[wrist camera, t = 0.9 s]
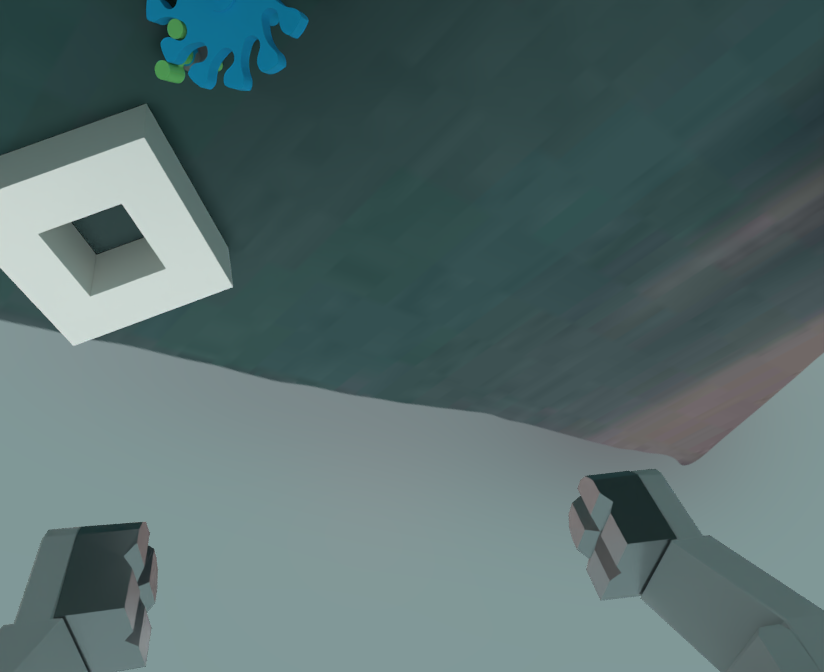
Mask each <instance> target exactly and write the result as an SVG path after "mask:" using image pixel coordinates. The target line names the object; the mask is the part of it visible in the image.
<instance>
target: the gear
mask: <svg viewBox="0 0 824 672" xmlns="http://www.w3.org/2000/svg"><path fill="white" fill-rule="evenodd" d="M146 15H147V19H148V20H149V21H152V22H154V23H157V24H160V25H166V24H168V26H167V31H168V34H169V36H170V37H166V38H164V39H163V40H162V41H161V49H162V52H163V54H164V57H165V59H166V61H164V60H160V61H158V62H157V63H156V65H155V73H156V76H157V77H158V78H159V79H161V80H165V81H169V82H173V83H181V82H182V81H183V80H184V78H185V71H184V70H187V71H189V72H188V75H189V77H190V78H191V79H192V80H193V81H194V82H195V83H196V84H197V85H199V86H200V87H202V88H206V89H210V90H211V89H212V88H213V87H214V86H215V85H216V82H217V74H218V71H220V70H221V69H222V68H223V63H222V61H223V60H224V59H225V58H226V57H227V55H228V54H229V53H230V52H232V51H233V53H234V62H233V64H232V66H231V67H230V68H229V69H228V70H227V71H226V72H225V75H224V85H225V86H227V87H229V88H233V89H237V90H240V91H250V90H251V88H252V83H253V82H252V77H251V74H250V69H249V57H250V53H251V49H252V46H253V43H254V42H255V41H256V40H258V39H259V41H260V51H259V54H258V58H257V64H258V67H259V69H260V70H261V71H262V72H264V73H267V74H274V73H277V72H279V71H281V70H282V69H283V68H285V67H286V59H285V56H284V55H283V54H282V53H281V52H280V51H279V50H278V48H277V47H276V45H275V44H274V41H273V39H272V35H271V30H270V26H275V25H277V24H278V22H279V23H280V27H281V30H282V31H283V32H284V33H285V34H287V35H289V36H291V37H293V38H296V39H298V38H299V37H300V36H301V34H302V33H303V32H304V30H305V28H306V26H307V24H308V22H309V20H308V18H307V16H306V15H305V14H304V13H302V12H300V11H298V10H296V9H294V8H289V7H286V6H285V5H284V4H283V3H282V2H281V0H177V3H176V5H175V7H174V8H172V7H171V5H170V4H169V3H168V2H167V1H165V0H147V4H146ZM171 37H172V38H171Z"/></svg>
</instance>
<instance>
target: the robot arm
mask: <svg viewBox="0 0 824 672" xmlns="http://www.w3.org/2000/svg"><path fill="white" fill-rule="evenodd" d="M577 489H578V491H579V493H580V495H581V496H580V497H578V498H577V499H576V500H575V501H574V502H573V503H572V505H571V508H570V512H569V529H570V533H571V536H572V539H573V542H574V544H575V546H576V548H577V550H578V551H579V552H581V553H582V554H583V555H585V556H586V557H587V558H589V560H588V565H587V569H586V570H587V572H588V574H589V576H590V579H591V581H592V583H593V585H594V587H595V589H596V591H597V594H598V596H599V598H600V600H608V599H617V598H626V597H635V596H641V599H642V600H643V601H644V602H645V603H646V604H647V605H648V606H649V607H651V608H652V609H653V610H654V611H655V612H656V613H657V614H658V615H659V616H660V617H661V618H663V619H664V620H665V621H666V622H667V623H668V624H669V625H670V626H671V627H672V628H674V630H676V631H677V632H678V633H679V634H680V635H681V636H682V637H683V638H684V639H686V641H688V642H689V643H690V644H691V645H692V646H693V647H694V648H695V649H696V650H697V651H698V652H700V653H701V654H702V655H703V656H704V657H705V658H706V659H707V660H708V661H709V662H710V663H712V664H713V665H714V666H715V667H716V668H717V669H718V670H719V671H720V672H824V610H822V609H821V608H819V607H817V606H816V605H815V604H813V603H812V602H810V601H809V600H807V599H806V598H804V597H802V596H801V595H800V594H798V593H796V592H795V591H793V590H792V589H790V588H789V587H787V586H786V585H784V584H783V583H781V582H780V581H778V580H777V579H775V578H774V577H772V576H771V575H769V574H768V573H766V572H765V571H763V570H762V569H760V568H759V567H757V566H756V565H754V564H752V563H751V562H749V561H748V560H746V559H745V558H743V557H742V556H740V555H739V554H737V553H736V552H734V551H733V550H731V549H730V548H728V547H727V546H725V545H724V544H722V543H721V542H719V541H717V540H716V539H714V538H713V537H712V536H710V535H708V536H703V535H702V534H701V532H700V531H699V529H698V528H697V526H696V525H695V523H694V522H693V520H692V519H691V517H690V516H689V514H688V513H687V511H686V510H685V508H684V507H683V505H682V504H681V502H680V501H679V499H678V498H677V496H676V495H675V493H674V492H673V490H672V489H671V487H670V486H669V484H668V483H667V481H666V480H665V478H664V477H663V475H662V474H661V473H660V472H659V471H658V470H656V469H648V470H638V471H631V472H630V471H623V472H615V473H606V474H598V475H589V476H585V477H583V478H582V479H581V480H580V483H579V485H578V488H577ZM149 535H150V532H149V529H148V527H147V523H146V522H135V523H123V524H110V525H97V526H85V527H73V528H62V529H52V530H48V531H47V533H46V534H45V536H44V537H43V539H42V541H41V543H40V547H39V549H38V552H37V555H36V558H35V561H34V565H33V568H32V571H31V574H30V577H29V579H28V583H27V586H26V588H25V592H24V595H23V598H22V601H21V604H20V607H19V610H18V613H17V616H16V619H15V622H14V624H9V625H3V626H2V627H1V629H0V672H117V671H123V670H129V669H135V668H141V667H146V661H147V654H148V648H149V641H150V635H151V625H150V621H149V618H148V615H147V612H148V611H149V610H150V609H151V607H152V606H153V605H154V604H155V600H156V593H157V578H158V576H157V575H158V567H157V559H156V554H155V551H154V549H153V548H151V547H150V546H148V541H149Z"/></svg>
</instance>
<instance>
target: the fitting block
mask: <svg viewBox="0 0 824 672" xmlns="http://www.w3.org/2000/svg"><path fill="white" fill-rule="evenodd" d="M119 204H122V205H123V206H124V208H125V209H126V211H127V212H128V214H129V215H130V216H131V218H132V219H133V221H134V222H135V224H136V225H137V227H138V228H139V230H140V231H141V233H142V234H143V236H144V238H141V239H138V240H136V241H133V242H130V243H128V244H125V245H122V246H119V247H117V248H114V249H111V250H108V251H106V252H103V253H100V254H97V255H96V254H95V252H94V251H93V250H92V248H91V247H90V246H89V245H88V243H87V242H86V241H85V239H84V238H83V237H82V236H81V234H80V233H79V232H78V230H77V229H76V228H75V226H74V225H73V224H72V223H71V222H72V221H75V220H78V219H81V218H83V217H86V216H89V215H92V214H94V213H97V212H100V211H103V210H105V209H108V208H111V207H114V206H116V205H119ZM0 268H1V269H2V270H3V271H4V272H5V273H6V274H7V275H8V277H9V278H10V279H11V280H12V281H13V282H14V283H15V284H16V285H17V286H18V287H19V288H20V289H21V290H22V291H23V293H24V294H25V295H26V296H27V297H28V298H29V299H30V300H31V301H32V302H33V303H34V304H35V305H36V306H37V307H38V309H39V310H40V311H41V312H42V313H43V314H44V315H45V316H46V317H47V318H48V319H49V320H50V321H51V322H52V323H53V325H54V326H55V327H56V328H57V329H58V330H59V331H60V332H61V333H62V334H63V335H64V336H65V337H66V338H67V339H68V341H69V342H70V343H71V344H72V345H73V346H75V345H77V344H80V343H83V342H85V341H88V340H91V339H94V338H96V337H99V336H102V335H104V334H107V333H110V332H113V331H115V330H118V329H121V328H123V327H126V326H129V325H132V324H134V323H137V322H140V321H142V320H145V319H148V318H150V317H153V316H156V315H159V314H161V313H164V312H167V311H169V310H172V309H175V308H177V307H180V306H183V305H186V304H188V303H191V302H194V301H196V300H199V299H202V298H204V297H207V296H210V295H213V294H215V293H218V292H221V291H223V290H226V289H229V288H232V287H233V282H232V274H231V265H230V257H229V248H228V246H227V245H226V243H225V241H224V239H223V238H222V236H221V234H220V232H219V231H218V229H217V227H216V225H215V224H214V222H213V220H212V218H211V216H210V215H209V213H208V211H207V209H206V208H205V206H204V204H203V202H202V201H201V199H200V197H199V195H198V194H197V192H196V190H195V188H194V186H193V185H192V183H191V181H190V179H189V178H188V176H187V174H186V172H185V171H184V169H183V167H182V165H181V164H180V162H179V160H178V158H177V157H176V155H175V153H174V151H173V149H172V148H171V146H170V144H169V142H168V141H167V139H166V137H165V135H164V134H163V132H162V130H161V128H160V127H159V125H158V123H157V121H156V119H155V118H154V116H153V114H152V112H151V111H150V109H149V107H148V105H147V104H144V105H141V106H138V107H135V108H133V109H130V110H127V111H124V112H121V113H118V114H116V115H113V116H110V117H107V118H104V119H102V120H99V121H96V122H93V123H90V124H88V125H85V126H82V127H79V128H76V129H74V130H71V131H68V132H65V133H62V134H60V135H57V136H54V137H51V138H48V139H46V140H43V141H40V142H37V143H34V144H32V145H29V146H26V147H23V148H20V149H18V150H15V151H12V152H9V153H6V154H4V155H1V156H0Z"/></svg>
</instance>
